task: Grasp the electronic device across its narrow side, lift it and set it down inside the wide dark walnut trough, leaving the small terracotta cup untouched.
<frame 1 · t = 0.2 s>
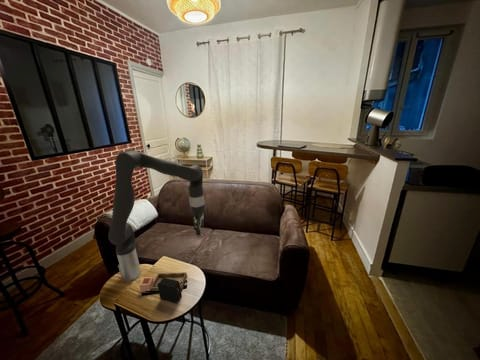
hand: (200, 230, 105), 28 cm above the table, fingers open, 8 cm apart
electronic device: (171, 298, 98), on the table
cup: (147, 288, 104), on the table
trough: (169, 283, 107), on the table
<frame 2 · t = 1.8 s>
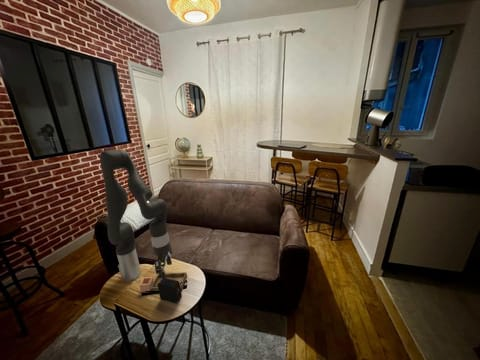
hand: (166, 270, 93), 17 cm above the table, fingers open, 8 cm apart
nothing on the table moved.
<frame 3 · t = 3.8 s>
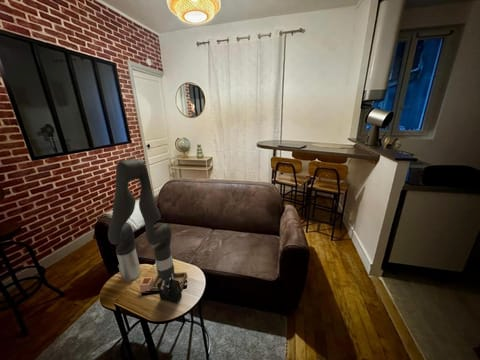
hand: (170, 292, 97), 4 cm above the table, fingers closed on electronic device, 3 cm apart
electronic device: (171, 298, 98), on the table, touching gripper
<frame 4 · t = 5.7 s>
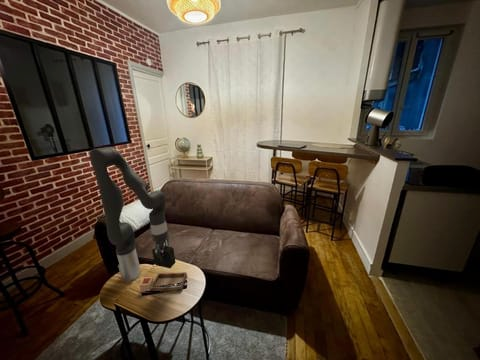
hand: (164, 258, 101), 17 cm above the table, fingers closed on electronic device, 3 cm apart
electronic device: (165, 264, 103), point 13 cm above the table, touching gripper
when the fingers open (6 cm above the table, at t = 8.2 s): electronic device drops 1 cm, resting on trough.
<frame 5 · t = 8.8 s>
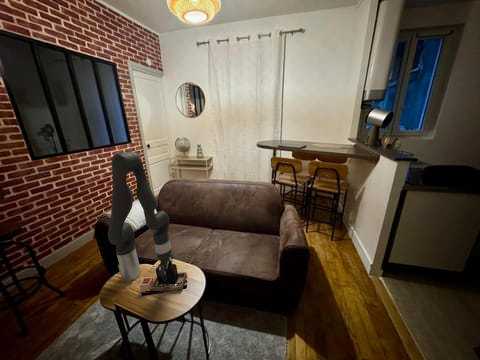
hand: (168, 274, 105), 7 cm above the table, fingers open, 8 cm apart
electronic device: (168, 281, 108), resting on trough
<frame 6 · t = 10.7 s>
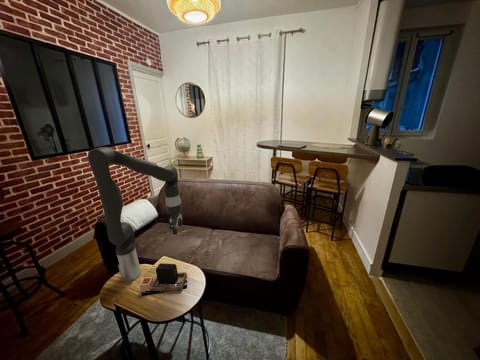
hand: (178, 229, 107), 28 cm above the table, fingers open, 8 cm apart
nothing on the table moved.
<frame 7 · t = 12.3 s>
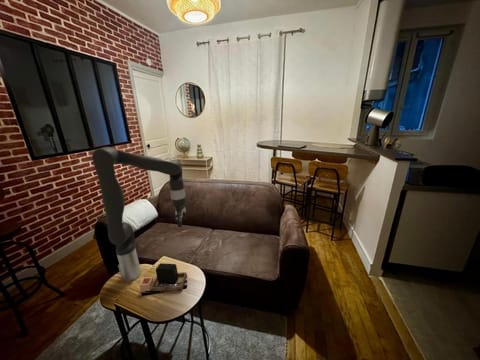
hand: (182, 222, 110), 30 cm above the table, fingers open, 8 cm apart
nothing on the table moved.
at the end: electronic device inside the target area on the trough (1.8 cm from its centre), point 0.4 cm above the trough's base; electronic device touching trough; the gripper is holding nothing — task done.
